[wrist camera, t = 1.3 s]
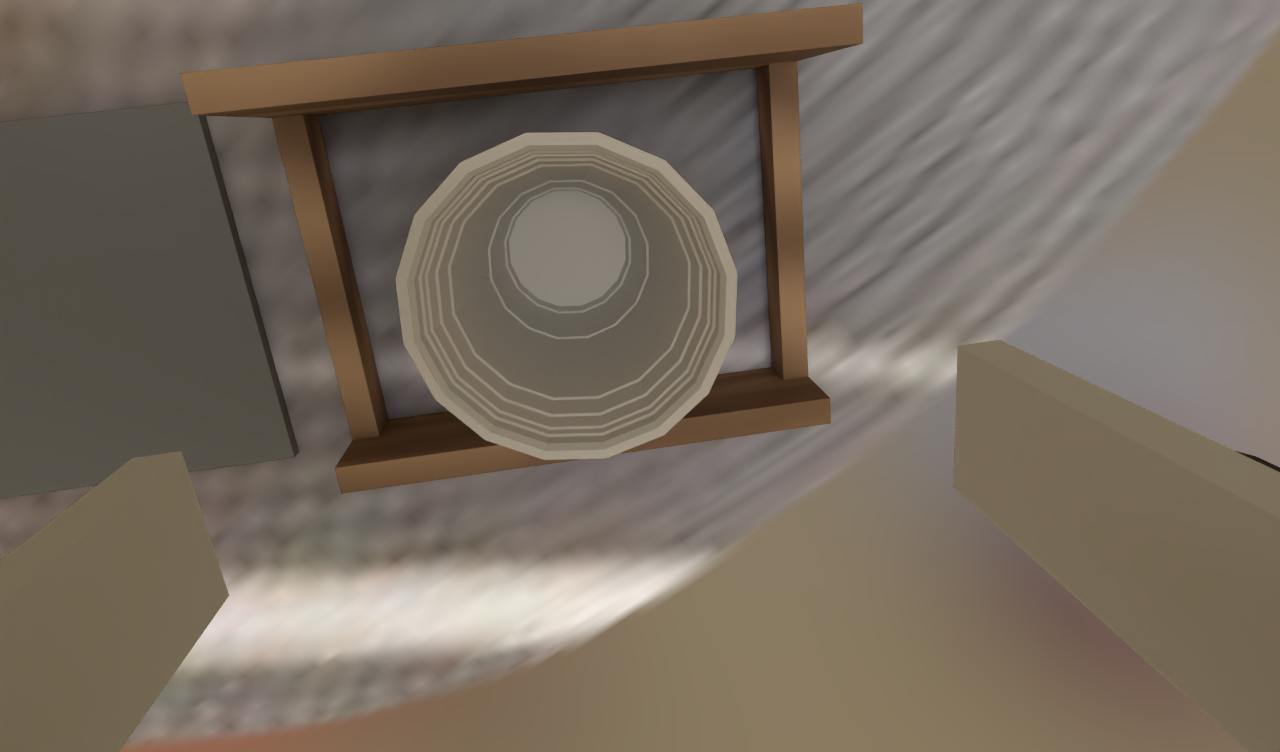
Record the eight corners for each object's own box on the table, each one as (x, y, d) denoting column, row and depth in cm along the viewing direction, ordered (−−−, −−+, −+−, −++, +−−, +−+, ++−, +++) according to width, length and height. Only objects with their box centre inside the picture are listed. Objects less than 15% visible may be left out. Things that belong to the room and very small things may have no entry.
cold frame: (281, 88, 31) (180, 73, 23) (781, 35, 33) (862, 2, 24) (368, 446, 37) (313, 542, 28) (796, 386, 38) (866, 460, 30)
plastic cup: (393, 222, 33) (311, 270, 22) (591, 77, 32) (611, 49, 21) (540, 405, 37) (534, 528, 26) (722, 279, 36) (801, 348, 25)
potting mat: (-212, 145, 30) (-227, 145, 29) (200, 102, 31) (194, 101, 31) (-51, 500, 35) (-61, 507, 35) (298, 452, 36) (294, 457, 36)
